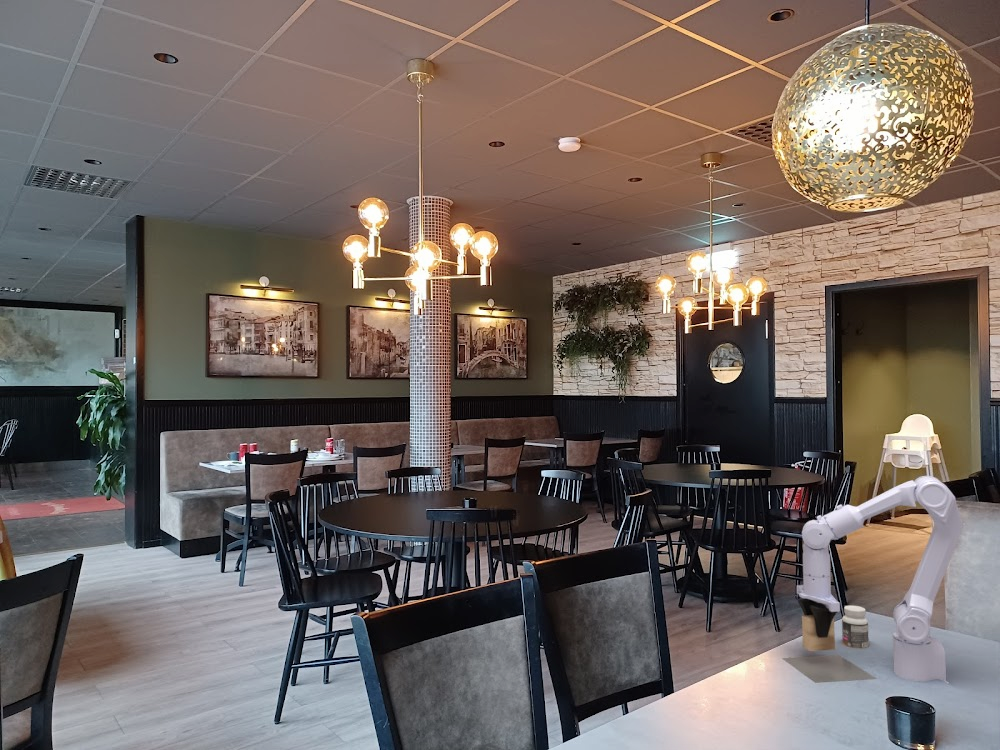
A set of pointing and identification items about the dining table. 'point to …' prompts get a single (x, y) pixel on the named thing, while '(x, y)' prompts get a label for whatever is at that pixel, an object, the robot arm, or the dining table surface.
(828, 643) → the block
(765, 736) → the dining table surface
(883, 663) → the dining table surface
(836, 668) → the board
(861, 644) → the pill bottle
